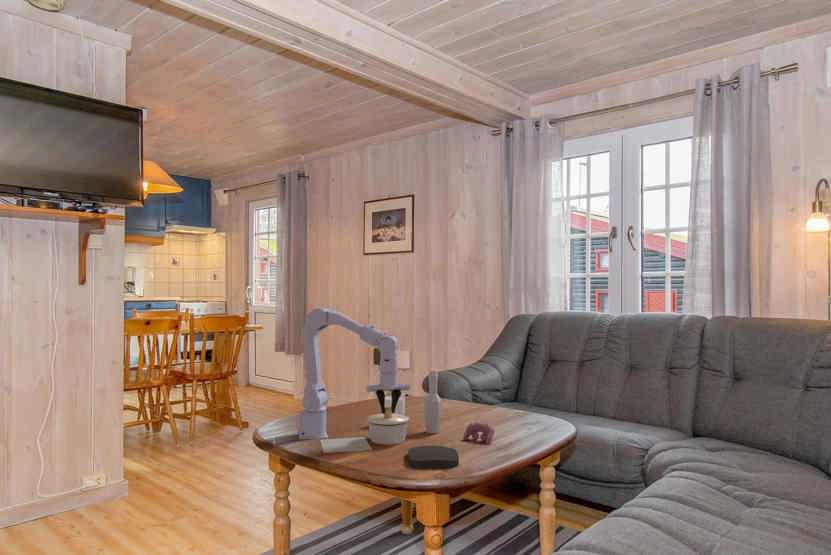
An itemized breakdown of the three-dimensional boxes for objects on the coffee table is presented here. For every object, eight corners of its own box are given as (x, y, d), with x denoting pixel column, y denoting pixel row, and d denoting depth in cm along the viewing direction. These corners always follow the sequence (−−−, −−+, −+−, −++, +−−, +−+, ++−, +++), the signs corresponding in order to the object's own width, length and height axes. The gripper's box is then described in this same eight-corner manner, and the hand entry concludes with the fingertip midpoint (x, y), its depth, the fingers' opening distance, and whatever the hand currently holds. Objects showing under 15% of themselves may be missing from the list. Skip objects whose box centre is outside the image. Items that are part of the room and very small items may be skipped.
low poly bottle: (440, 435, 197) (440, 371, 197) (422, 433, 198) (422, 371, 199) (442, 430, 203) (443, 369, 204) (425, 429, 205) (426, 368, 205)
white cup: (402, 428, 206) (402, 400, 206) (381, 426, 208) (381, 399, 208) (407, 423, 214) (407, 396, 214) (386, 421, 215) (387, 395, 215)
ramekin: (399, 448, 180) (399, 427, 180) (361, 444, 184) (361, 423, 185) (412, 438, 193) (413, 417, 193) (377, 434, 197) (377, 414, 197)
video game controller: (493, 447, 189) (497, 426, 191) (488, 443, 185) (492, 422, 188) (466, 442, 194) (470, 422, 196) (461, 439, 190) (465, 418, 193)
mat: (324, 454, 173) (324, 452, 173) (319, 440, 188) (319, 439, 188) (372, 451, 177) (372, 449, 177) (364, 438, 192) (364, 437, 192)
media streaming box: (409, 469, 161) (409, 459, 161) (407, 454, 175) (407, 444, 175) (460, 469, 162) (460, 458, 162) (453, 454, 176) (453, 444, 176)
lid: (370, 425, 180) (370, 412, 180) (364, 416, 194) (364, 405, 194) (413, 423, 183) (413, 411, 183) (404, 415, 197) (404, 403, 197)
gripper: (369, 374, 183) (368, 416, 183) (412, 373, 187) (411, 414, 187) (365, 371, 190) (365, 411, 190) (407, 370, 194) (406, 409, 194)
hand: (388, 412), depth 189 cm, fingers closed on lid, 3 cm apart
